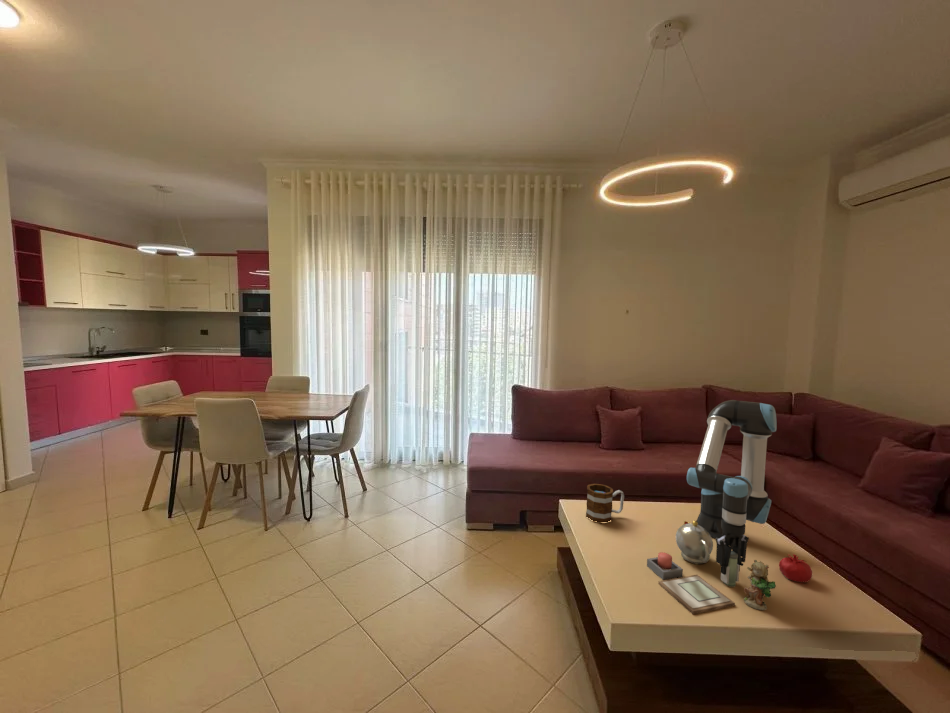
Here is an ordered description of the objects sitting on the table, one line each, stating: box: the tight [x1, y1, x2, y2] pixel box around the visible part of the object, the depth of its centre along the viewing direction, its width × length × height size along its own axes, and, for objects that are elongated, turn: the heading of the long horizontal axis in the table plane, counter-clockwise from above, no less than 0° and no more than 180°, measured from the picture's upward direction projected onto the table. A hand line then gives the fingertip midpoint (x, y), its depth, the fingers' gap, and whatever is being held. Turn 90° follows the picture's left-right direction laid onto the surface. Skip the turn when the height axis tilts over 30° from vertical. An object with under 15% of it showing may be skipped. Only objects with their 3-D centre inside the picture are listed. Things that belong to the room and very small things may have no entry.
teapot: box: [675, 520, 714, 565], centre depth 158 cm, size 18×14×16 cm
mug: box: [585, 483, 625, 522], centre depth 195 cm, size 20×14×15 cm
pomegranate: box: [778, 553, 813, 583], centre depth 149 cm, size 10×10×9 cm
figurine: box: [743, 559, 776, 611], centre depth 132 cm, size 9×8×15 cm
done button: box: [657, 551, 673, 570], centre depth 151 cm, size 5×5×4 cm
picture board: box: [657, 574, 736, 615], centre depth 138 cm, size 18×16×1 cm
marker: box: [722, 550, 738, 588], centre depth 144 cm, size 4×4×12 cm
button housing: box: [646, 556, 684, 581], centre depth 151 cm, size 9×9×3 cm
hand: (729, 580), depth 145 cm, fingers closed on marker, 4 cm apart
